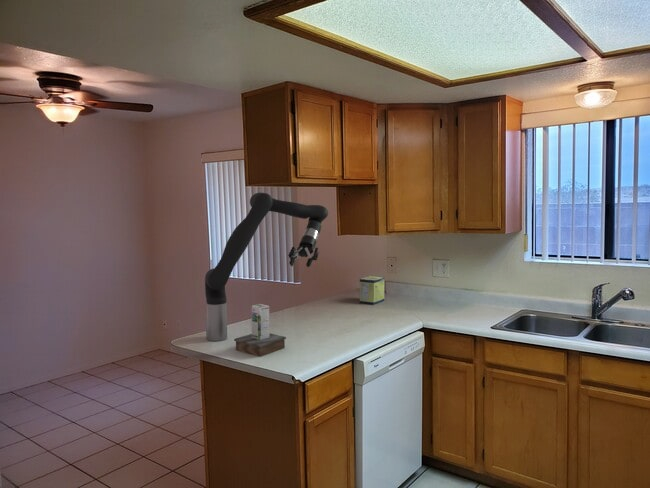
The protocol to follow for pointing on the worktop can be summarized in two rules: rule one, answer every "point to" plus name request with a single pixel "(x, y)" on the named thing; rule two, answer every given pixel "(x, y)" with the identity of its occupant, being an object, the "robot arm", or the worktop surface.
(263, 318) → the syrup box
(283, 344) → the podium
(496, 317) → the worktop surface
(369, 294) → the protein box
